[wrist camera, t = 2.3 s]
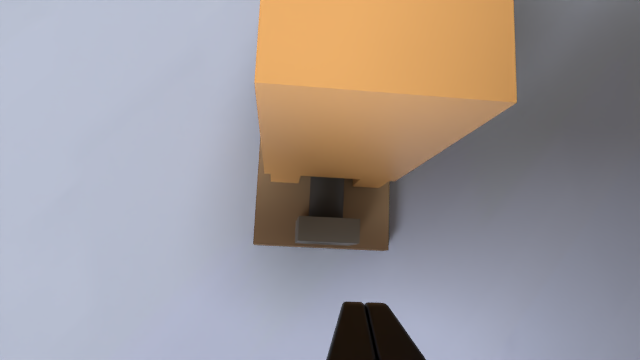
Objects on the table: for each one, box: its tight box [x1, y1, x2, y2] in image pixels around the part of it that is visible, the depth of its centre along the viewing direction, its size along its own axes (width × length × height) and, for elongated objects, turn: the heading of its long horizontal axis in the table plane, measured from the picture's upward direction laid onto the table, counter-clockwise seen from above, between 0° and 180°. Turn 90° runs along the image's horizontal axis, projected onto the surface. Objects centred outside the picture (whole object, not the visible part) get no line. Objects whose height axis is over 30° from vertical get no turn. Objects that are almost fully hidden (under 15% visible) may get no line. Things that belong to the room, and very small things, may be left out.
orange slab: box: [255, 0, 517, 188], centre depth 13 cm, size 2×4×10 cm, turn 87°
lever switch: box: [253, 137, 390, 251], centre depth 17 cm, size 12×5×5 cm, turn 178°
